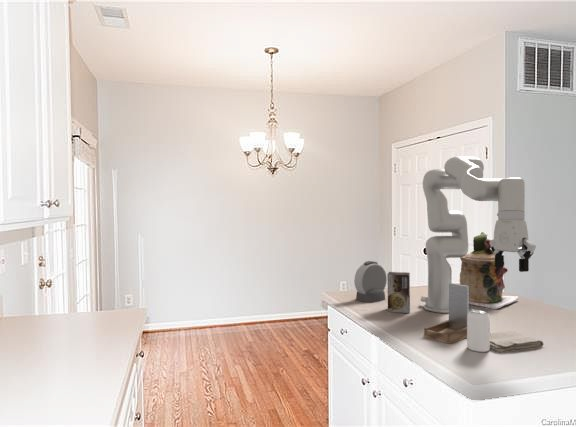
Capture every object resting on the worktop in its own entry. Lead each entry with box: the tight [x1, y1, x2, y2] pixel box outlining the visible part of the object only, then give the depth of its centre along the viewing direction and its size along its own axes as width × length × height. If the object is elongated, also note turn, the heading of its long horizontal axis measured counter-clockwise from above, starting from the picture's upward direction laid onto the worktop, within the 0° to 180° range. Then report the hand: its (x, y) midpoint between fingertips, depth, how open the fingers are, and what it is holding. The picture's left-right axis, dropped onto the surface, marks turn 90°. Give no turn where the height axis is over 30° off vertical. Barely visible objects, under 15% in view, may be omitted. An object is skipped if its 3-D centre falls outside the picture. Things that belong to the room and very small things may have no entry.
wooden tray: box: [423, 319, 467, 345], centre depth 143 cm, size 10×17×3 cm, turn 129°
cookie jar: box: [459, 231, 519, 310], centre depth 193 cm, size 25×25×32 cm
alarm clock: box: [354, 260, 388, 304], centre depth 196 cm, size 16×10×18 cm, turn 120°
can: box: [466, 308, 491, 353], centre depth 129 cm, size 6×6×12 cm
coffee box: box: [386, 271, 411, 314], centre depth 176 cm, size 9×6×16 cm
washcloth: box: [490, 330, 544, 353], centre depth 134 cm, size 12×18×3 cm, turn 108°
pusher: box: [448, 283, 470, 330], centre depth 147 cm, size 7×1×16 cm, turn 39°
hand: (511, 269), depth 133 cm, fingers open, 9 cm apart
